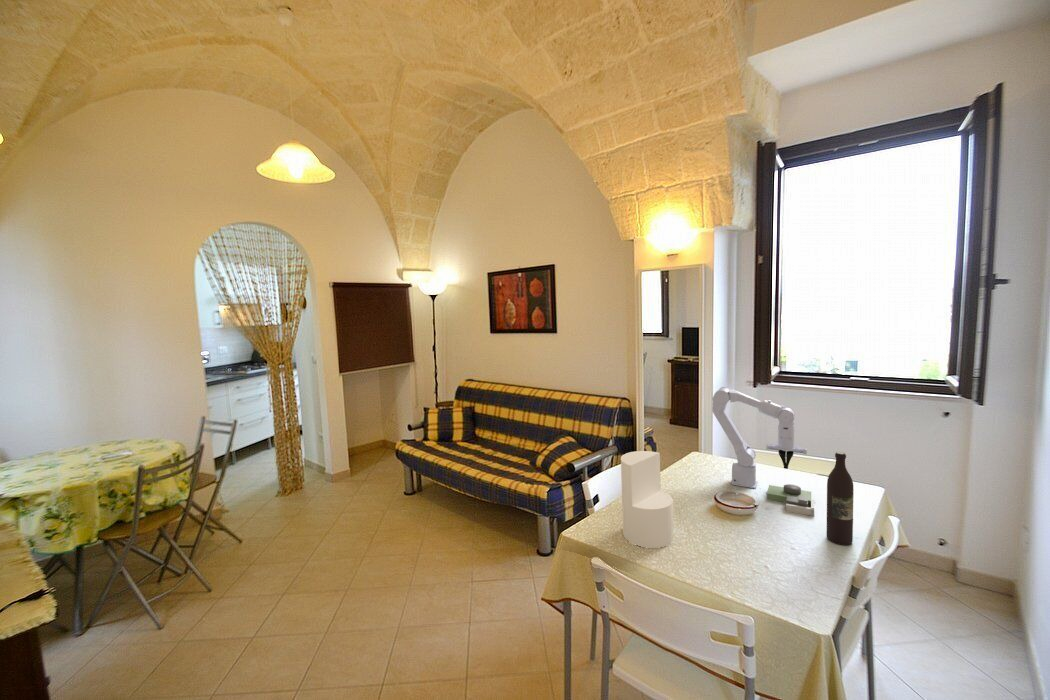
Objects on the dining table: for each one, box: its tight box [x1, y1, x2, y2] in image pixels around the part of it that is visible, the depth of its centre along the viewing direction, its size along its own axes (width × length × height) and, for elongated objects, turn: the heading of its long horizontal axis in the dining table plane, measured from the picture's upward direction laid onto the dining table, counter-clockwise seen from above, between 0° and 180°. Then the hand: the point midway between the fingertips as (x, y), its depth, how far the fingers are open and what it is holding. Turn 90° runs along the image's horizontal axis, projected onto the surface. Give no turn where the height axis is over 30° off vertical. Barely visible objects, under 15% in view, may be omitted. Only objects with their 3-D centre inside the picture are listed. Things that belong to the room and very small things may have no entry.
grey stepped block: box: [785, 495, 808, 507], centre depth 167 cm, size 7×5×5 cm
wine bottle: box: [826, 451, 854, 546], centre depth 142 cm, size 7×7×30 cm
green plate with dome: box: [766, 483, 815, 517], centre depth 171 cm, size 16×17×4 cm
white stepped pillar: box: [620, 450, 675, 549], centre depth 151 cm, size 17×17×28 cm
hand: (786, 467), depth 182 cm, fingers closed
